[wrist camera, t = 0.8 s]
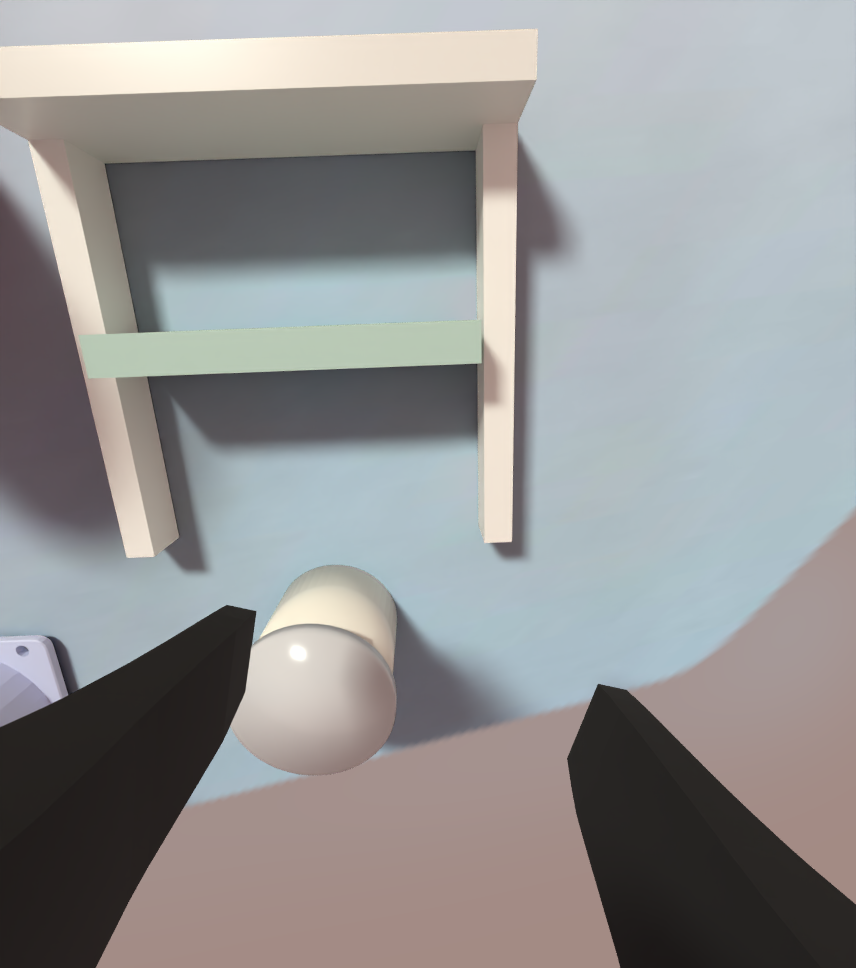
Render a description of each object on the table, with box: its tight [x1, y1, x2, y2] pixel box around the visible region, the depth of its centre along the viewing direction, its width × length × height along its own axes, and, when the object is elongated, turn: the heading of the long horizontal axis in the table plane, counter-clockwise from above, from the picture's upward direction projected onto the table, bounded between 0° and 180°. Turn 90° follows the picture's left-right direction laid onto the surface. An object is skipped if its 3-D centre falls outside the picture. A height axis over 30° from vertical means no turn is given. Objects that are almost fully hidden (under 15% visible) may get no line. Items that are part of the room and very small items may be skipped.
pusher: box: [78, 320, 482, 379], centre depth 15 cm, size 11×1×3 cm, turn 92°
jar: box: [230, 565, 397, 775], centre depth 17 cm, size 5×5×5 cm
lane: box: [0, 29, 538, 558], centre depth 15 cm, size 14×14×4 cm
